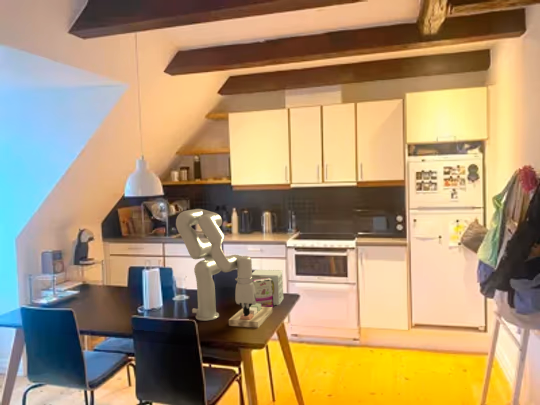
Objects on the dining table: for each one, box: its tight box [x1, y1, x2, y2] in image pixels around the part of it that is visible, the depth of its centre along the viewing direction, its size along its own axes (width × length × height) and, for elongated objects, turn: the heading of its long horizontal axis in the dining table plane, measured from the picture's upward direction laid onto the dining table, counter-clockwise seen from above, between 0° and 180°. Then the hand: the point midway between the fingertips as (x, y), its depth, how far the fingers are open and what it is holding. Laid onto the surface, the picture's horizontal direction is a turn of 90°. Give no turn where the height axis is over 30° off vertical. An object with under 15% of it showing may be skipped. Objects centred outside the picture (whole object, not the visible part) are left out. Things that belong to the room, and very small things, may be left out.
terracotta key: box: [240, 314, 253, 320], centre depth 231 cm, size 5×5×3 cm
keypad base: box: [228, 305, 273, 329], centre depth 237 cm, size 16×24×3 cm, turn 162°
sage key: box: [250, 303, 261, 311], centre depth 244 cm, size 5×5×3 cm
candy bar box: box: [252, 278, 274, 308], centre depth 256 cm, size 11×5×16 cm, turn 105°
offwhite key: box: [250, 307, 257, 316], centre depth 237 cm, size 5×5×3 cm
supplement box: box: [252, 269, 284, 306], centre depth 267 cm, size 17×13×18 cm
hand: (246, 315), depth 231 cm, fingers closed
